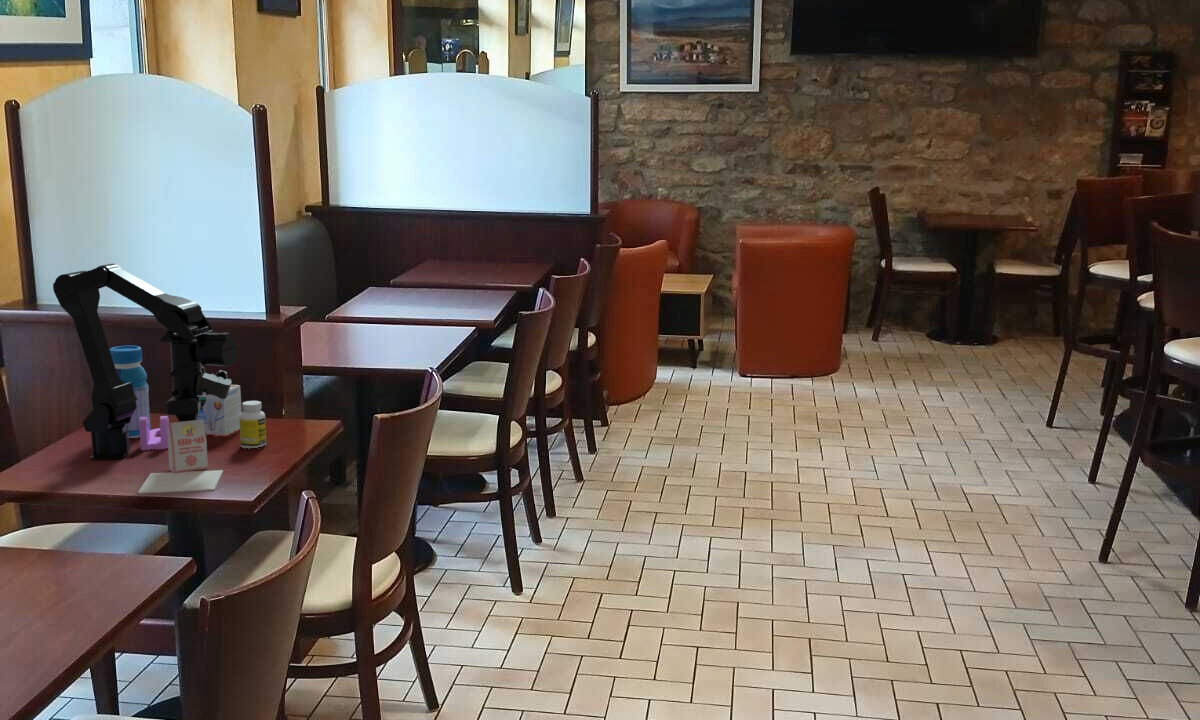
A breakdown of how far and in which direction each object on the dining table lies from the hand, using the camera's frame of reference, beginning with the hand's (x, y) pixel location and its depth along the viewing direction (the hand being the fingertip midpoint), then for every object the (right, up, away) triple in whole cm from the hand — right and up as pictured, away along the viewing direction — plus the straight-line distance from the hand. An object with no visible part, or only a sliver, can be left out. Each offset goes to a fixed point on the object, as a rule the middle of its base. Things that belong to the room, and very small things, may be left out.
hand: (191, 437), depth 237 cm
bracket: (-13, -2, +17) cm, 21 cm away
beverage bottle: (-21, -1, +21) cm, 30 cm away
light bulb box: (-3, -1, +24) cm, 25 cm away
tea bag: (+1, -7, -4) cm, 8 cm away
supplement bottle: (+9, -3, +14) cm, 17 cm away
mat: (+2, -8, -11) cm, 14 cm away
